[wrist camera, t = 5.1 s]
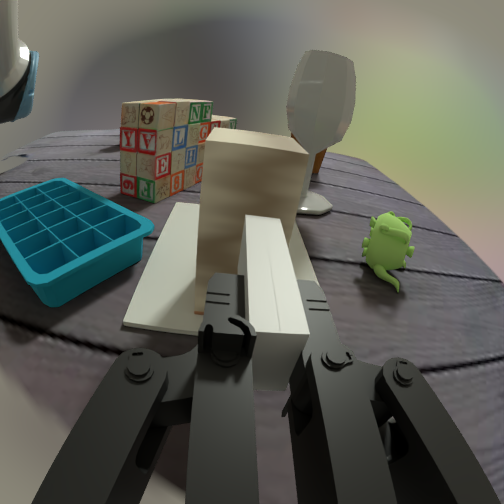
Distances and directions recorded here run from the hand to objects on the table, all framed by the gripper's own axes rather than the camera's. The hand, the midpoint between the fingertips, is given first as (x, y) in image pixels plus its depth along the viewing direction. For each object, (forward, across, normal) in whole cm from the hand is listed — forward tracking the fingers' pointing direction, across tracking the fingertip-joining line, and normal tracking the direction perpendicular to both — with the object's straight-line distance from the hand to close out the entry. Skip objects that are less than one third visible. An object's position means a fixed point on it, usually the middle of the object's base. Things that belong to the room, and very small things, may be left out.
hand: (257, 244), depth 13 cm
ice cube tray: (+10, -18, -8) cm, 22 cm away
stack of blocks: (+31, -9, -8) cm, 34 cm away
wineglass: (+26, +8, -8) cm, 28 cm away
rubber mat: (+11, 0, -8) cm, 13 cm away
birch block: (+5, 0, -7) cm, 9 cm away
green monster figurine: (+11, +14, -8) cm, 20 cm away
